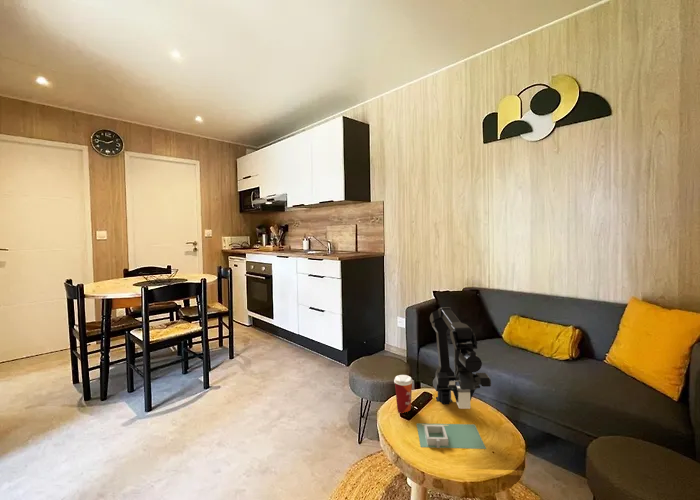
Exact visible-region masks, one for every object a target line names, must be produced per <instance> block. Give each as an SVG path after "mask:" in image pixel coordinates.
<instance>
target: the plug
mask: <svg viewBox="0 0 700 500" xmlns="http://www.w3.org/2000/svg"><path fill="white" fill-rule="evenodd" d="M456 386H457V395H458V402H456V405H457V407H458V409H460V410H461V409H462V410H463V409H465V410H466V409H469V410H470V409H471V401H470V389H465V390H463V389H461V388H460V385H456Z"/></svg>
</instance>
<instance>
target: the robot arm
mask: <svg viewBox="0 0 700 500" xmlns="http://www.w3.org/2000/svg"><path fill="white" fill-rule="evenodd" d="M429 321H430V323H431V327H432V328H433V330H434V331H435V335H436V346H437V347H436V348H437V359H438V360H437V361H438V367H437V369H436V371H435V377H434V379H433V380H432V385H433V388H434V390H435V391H436V392H437V396H436V397H435V399H436V402H439V403H441V405H450V404H451V403H453V399H452V392H453V396H454V398H455V402H456V403H457V402H458V395H457V386H460V388H461V389H463V390H465V389H470V402H471V400H472V399H473V395H474V393H475V392H476V390H478V389H480V388H481V386H482V387H488V388H490V387H491V386H492V381H491V377H490V376H489V375H488V374H487V373H486V372H478V371H480V370H481V368H482V365H483V362H482V360H481V358H480V357H479V356H478V355H477V353H476V351H474V350H477V349H478V341H477V338H476V335H475V332H474V331H473V329H472V328H471V327H470V326H469V325H468V324H466V323H464V322H461V320H459V318H458V317H457V316H456V314H455V313H454V312H453V309H452V307H449V306H446V307H439V308H438V309H436V310H435V311H432V312H431V313H430V316H429ZM449 330H450V332H449V338H450V339H451V343H452V346H453V364H454V366H453V369H452V367H451V365H450V364H451V362H450V353H449V342H448V331H449ZM457 383H458V384H459V385H457Z"/></svg>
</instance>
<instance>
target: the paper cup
mask: <svg viewBox="0 0 700 500" xmlns="http://www.w3.org/2000/svg"><path fill="white" fill-rule="evenodd" d="M393 383H394V387H395V388H394V389H395V398H396V407H397V412H398V413H400V414H402V413H404V412H407V413H408V412H410V411H411V409H412V394H413V393H412V391H413V390H412V389H413V388H412V387H413V380H412V377H411V376H409V375H407V374H398V375H396V376H395V377H394V379H393Z"/></svg>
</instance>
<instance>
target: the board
mask: <svg viewBox="0 0 700 500" xmlns="http://www.w3.org/2000/svg"><path fill="white" fill-rule="evenodd" d="M416 428H417V435H418V439H419V446H420V448H430V449H431V448H436V449H441V448H442V449H473V450H474V449H475V450H476V449H477V450H478V449H479V450H481V449H484V450H487V446H486V445H485V443H484V441H483V439H482V437H481V435H480V433H479V430H478V428H477V427H476V424H471V423H470V424H466V423H419V422H417V423H416Z"/></svg>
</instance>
